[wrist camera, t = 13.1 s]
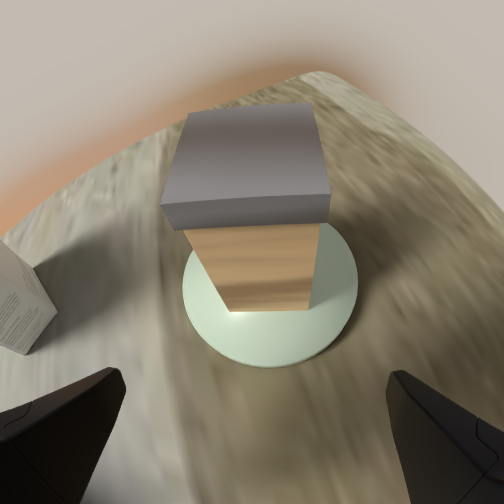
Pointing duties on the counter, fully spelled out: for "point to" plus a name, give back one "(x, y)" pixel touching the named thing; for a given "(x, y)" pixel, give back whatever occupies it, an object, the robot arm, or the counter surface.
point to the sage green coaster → (277, 322)
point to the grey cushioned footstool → (252, 201)
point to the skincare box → (21, 303)
